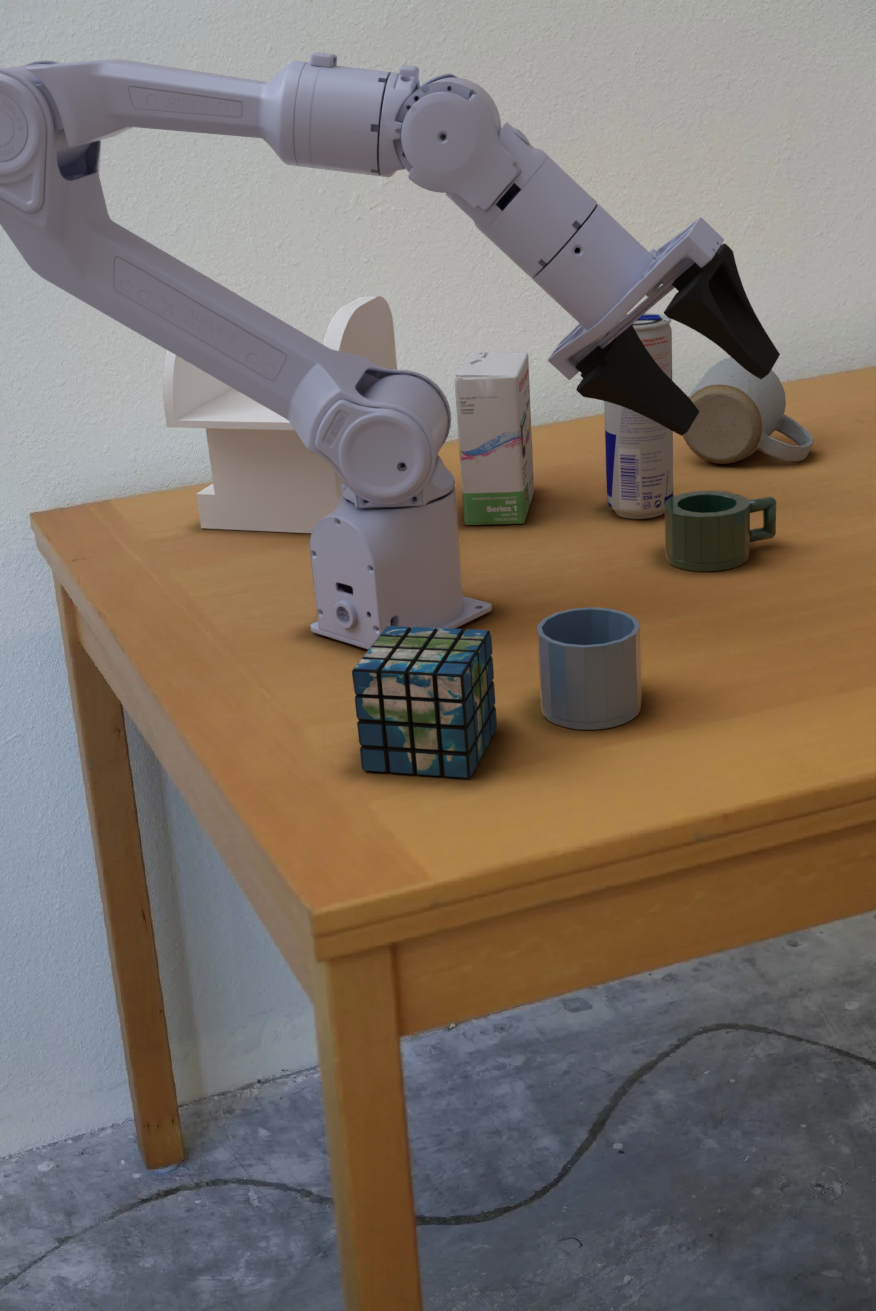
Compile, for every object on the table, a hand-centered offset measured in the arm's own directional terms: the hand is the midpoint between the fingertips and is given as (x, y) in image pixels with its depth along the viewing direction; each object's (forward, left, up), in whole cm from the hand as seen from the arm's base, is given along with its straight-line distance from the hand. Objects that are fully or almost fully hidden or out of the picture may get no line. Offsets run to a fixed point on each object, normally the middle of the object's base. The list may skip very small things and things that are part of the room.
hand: (729, 396), depth 89 cm
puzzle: (-25, +3, -14) cm, 29 cm away
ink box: (+9, +27, -14) cm, 32 cm away
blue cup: (-16, -1, -14) cm, 22 cm away
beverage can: (+14, +17, -14) cm, 26 cm away
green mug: (+9, +6, -14) cm, 18 cm away
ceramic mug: (+31, +18, -14) cm, 38 cm away
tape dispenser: (-1, +40, -14) cm, 42 cm away
